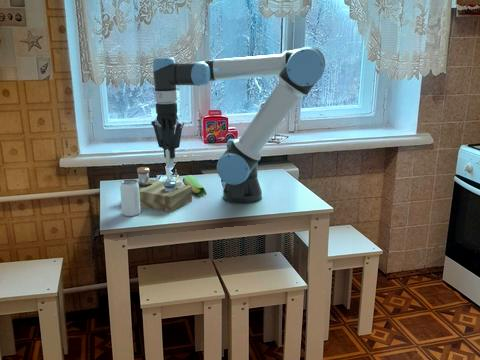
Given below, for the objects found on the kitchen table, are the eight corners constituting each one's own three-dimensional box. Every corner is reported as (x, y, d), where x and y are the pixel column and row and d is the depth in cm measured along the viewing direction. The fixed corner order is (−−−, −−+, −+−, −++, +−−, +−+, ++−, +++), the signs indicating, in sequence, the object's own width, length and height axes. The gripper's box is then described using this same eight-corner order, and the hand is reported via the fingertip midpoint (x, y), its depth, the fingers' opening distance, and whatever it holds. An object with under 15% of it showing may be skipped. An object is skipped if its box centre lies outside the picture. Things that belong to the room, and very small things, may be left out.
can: (139, 216, 179) (137, 184, 175) (121, 217, 178) (118, 184, 175) (141, 210, 185) (139, 178, 182) (123, 210, 185) (121, 179, 181)
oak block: (192, 201, 194) (191, 186, 193) (171, 212, 182) (170, 196, 181) (145, 192, 204) (145, 178, 202) (123, 203, 192) (121, 188, 190)
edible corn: (193, 173, 215) (183, 172, 213) (209, 188, 198) (198, 186, 196) (190, 185, 216) (180, 183, 214) (206, 200, 199) (195, 199, 197)
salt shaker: (179, 202, 191) (178, 181, 189) (172, 206, 188) (171, 184, 185) (169, 200, 193) (168, 180, 191) (162, 204, 190) (161, 183, 187)
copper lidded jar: (152, 188, 196) (151, 167, 193) (145, 191, 192) (144, 170, 189) (143, 186, 198) (142, 166, 195) (135, 190, 194) (134, 169, 191)
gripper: (144, 102, 179) (149, 167, 186) (175, 104, 173) (179, 171, 180) (157, 100, 186) (161, 162, 192) (187, 101, 180) (190, 166, 187)
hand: (170, 166), depth 186 cm, fingers closed
